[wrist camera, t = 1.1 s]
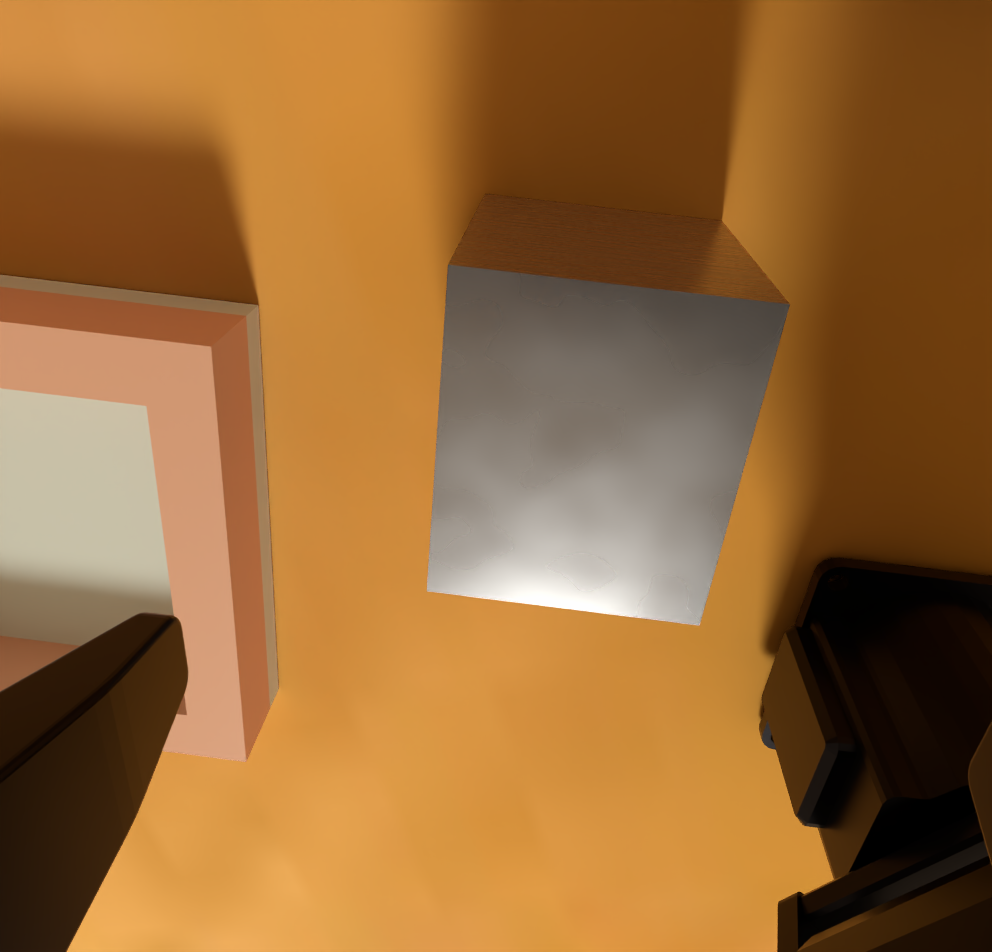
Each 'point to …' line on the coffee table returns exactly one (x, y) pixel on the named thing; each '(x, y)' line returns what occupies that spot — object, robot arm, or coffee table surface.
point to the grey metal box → (595, 406)
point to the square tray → (138, 491)
